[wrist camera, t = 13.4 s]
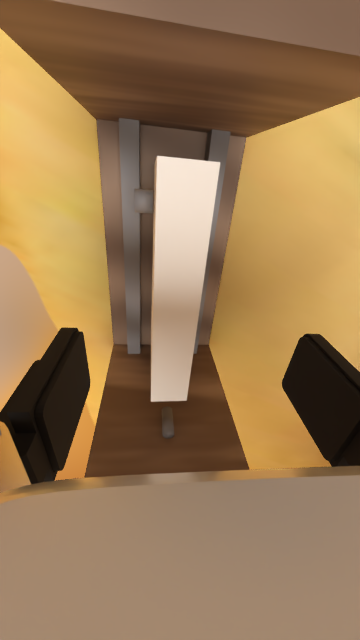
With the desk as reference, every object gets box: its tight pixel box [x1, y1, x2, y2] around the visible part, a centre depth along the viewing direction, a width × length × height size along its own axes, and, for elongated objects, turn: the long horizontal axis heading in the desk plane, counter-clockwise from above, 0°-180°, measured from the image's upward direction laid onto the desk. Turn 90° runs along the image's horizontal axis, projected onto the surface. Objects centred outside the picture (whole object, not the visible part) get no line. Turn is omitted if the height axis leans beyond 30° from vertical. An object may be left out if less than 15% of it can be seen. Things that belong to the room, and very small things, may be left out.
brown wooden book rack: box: [0, 0, 360, 478], centre depth 16 cm, size 21×10×14 cm, turn 175°
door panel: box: [134, 156, 220, 402], centre depth 17 cm, size 14×4×9 cm, turn 175°
